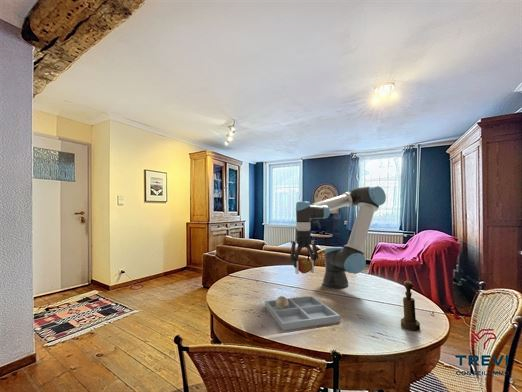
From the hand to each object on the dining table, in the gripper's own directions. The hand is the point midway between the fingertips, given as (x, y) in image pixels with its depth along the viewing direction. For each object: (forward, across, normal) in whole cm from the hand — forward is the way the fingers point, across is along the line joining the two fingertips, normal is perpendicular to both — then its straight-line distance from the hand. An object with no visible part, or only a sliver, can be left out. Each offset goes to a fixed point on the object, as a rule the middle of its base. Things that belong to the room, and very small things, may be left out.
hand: (304, 272), depth 134 cm
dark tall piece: (+13, -26, +42) cm, 51 cm away
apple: (+1, 0, 0) cm, 1 cm away
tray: (+13, +12, +20) cm, 26 cm away
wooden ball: (+12, +18, +14) cm, 25 cm away
